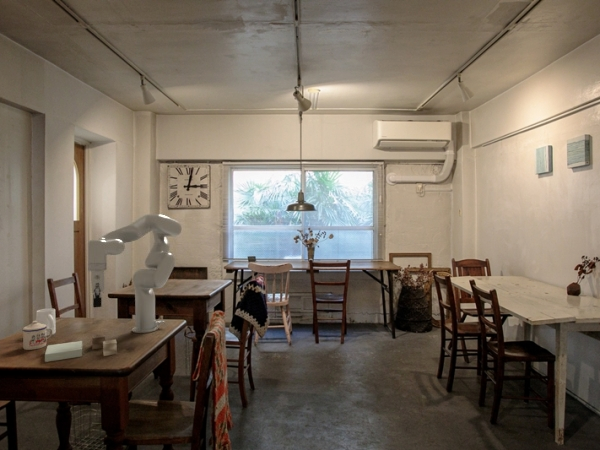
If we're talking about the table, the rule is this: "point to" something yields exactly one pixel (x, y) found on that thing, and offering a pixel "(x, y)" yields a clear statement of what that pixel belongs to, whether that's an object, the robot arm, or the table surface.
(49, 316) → the mug
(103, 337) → the walnut block
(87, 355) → the table surface
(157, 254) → the robot arm
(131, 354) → the table surface
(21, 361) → the table surface
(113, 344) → the ash block
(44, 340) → the teacup with lid
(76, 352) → the base board
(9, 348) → the table surface
